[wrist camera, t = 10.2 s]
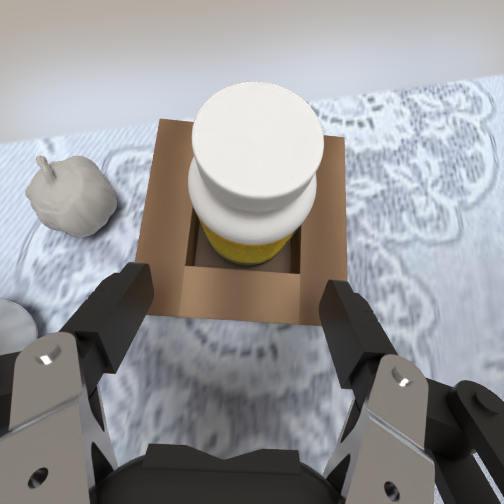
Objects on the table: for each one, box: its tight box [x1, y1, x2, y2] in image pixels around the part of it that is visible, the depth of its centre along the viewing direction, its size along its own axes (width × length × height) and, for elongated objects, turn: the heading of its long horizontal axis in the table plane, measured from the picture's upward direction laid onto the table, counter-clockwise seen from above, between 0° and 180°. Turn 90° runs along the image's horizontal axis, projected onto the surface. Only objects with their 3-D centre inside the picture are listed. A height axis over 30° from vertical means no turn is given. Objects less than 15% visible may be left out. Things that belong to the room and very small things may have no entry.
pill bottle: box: [188, 82, 324, 267], centre depth 13 cm, size 6×6×11 cm
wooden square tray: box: [135, 119, 347, 326], centre depth 18 cm, size 14×14×4 cm
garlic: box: [25, 156, 117, 237], centre depth 17 cm, size 6×5×5 cm
